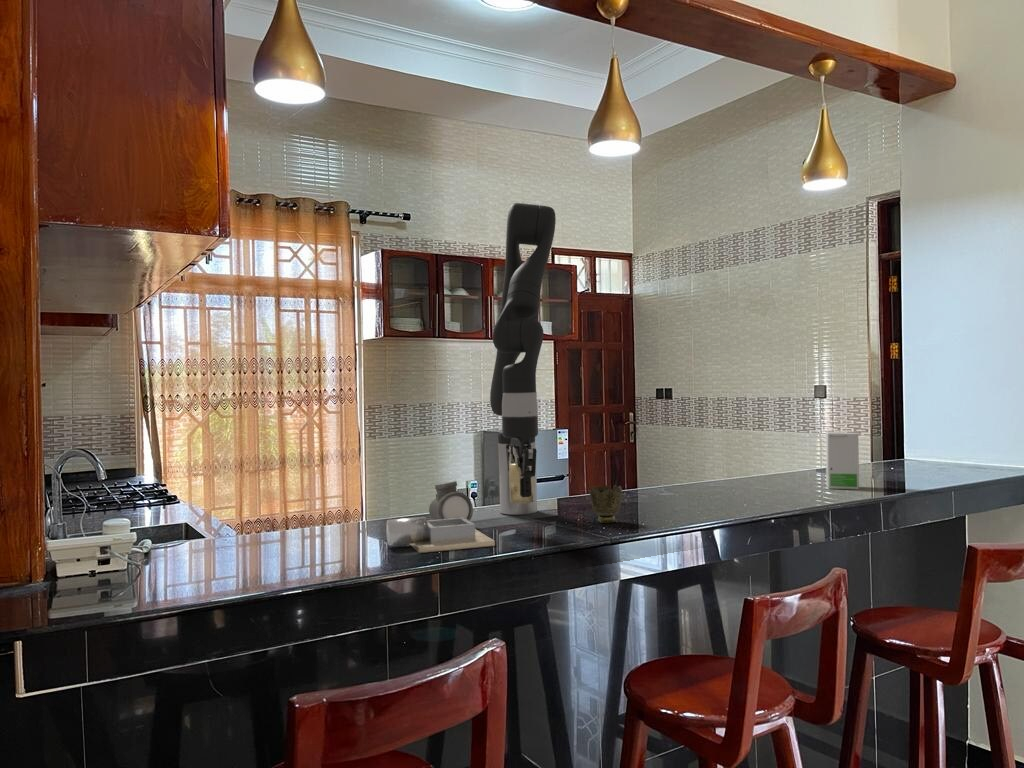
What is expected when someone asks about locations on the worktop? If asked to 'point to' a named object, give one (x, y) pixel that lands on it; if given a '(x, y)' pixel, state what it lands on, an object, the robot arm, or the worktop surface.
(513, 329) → the robot arm
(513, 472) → the brass cylinder plug
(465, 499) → the pipe fitting
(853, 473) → the skincare box
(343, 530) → the worktop surface
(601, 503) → the cup
